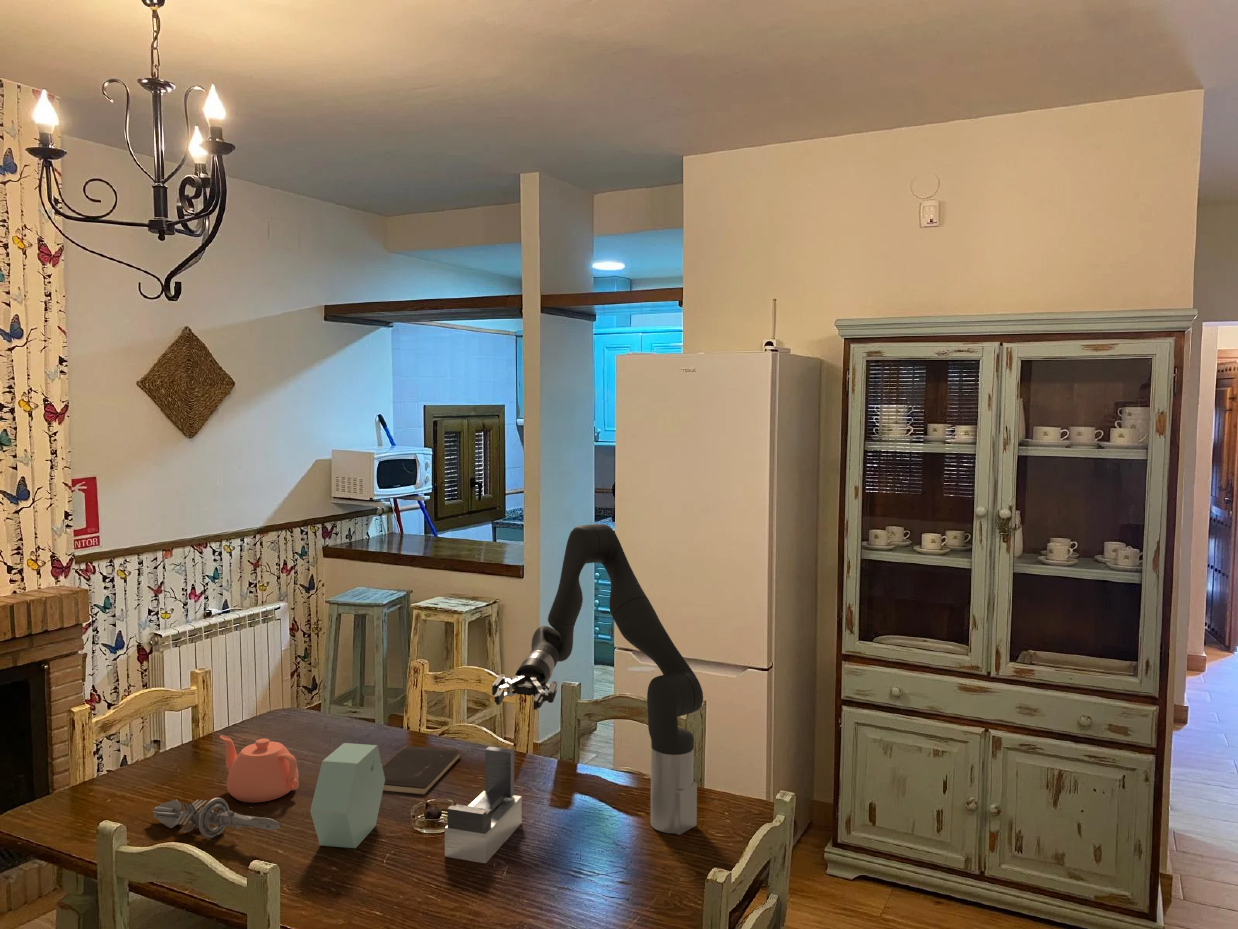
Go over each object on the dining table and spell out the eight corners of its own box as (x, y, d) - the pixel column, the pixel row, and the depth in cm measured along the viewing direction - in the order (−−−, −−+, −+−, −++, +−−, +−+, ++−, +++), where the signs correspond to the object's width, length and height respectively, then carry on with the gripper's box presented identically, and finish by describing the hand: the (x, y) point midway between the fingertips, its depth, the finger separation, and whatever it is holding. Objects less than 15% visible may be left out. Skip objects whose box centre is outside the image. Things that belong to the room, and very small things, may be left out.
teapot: (197, 798, 205) (195, 745, 205) (246, 772, 220) (244, 722, 219) (275, 813, 198) (274, 758, 197) (320, 785, 213) (319, 734, 212)
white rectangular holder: (483, 817, 197) (483, 773, 196) (521, 823, 194) (521, 778, 194) (444, 856, 180) (444, 808, 179) (485, 863, 177) (485, 814, 177)
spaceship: (260, 825, 176) (285, 795, 183) (132, 812, 189) (160, 784, 196) (275, 854, 179) (299, 824, 186) (148, 839, 192) (175, 811, 199)
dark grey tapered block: (488, 791, 196) (488, 746, 195) (514, 794, 194) (514, 749, 193) (466, 812, 185) (466, 765, 184) (492, 816, 183) (492, 769, 183)
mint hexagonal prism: (336, 850, 191) (357, 751, 201) (370, 853, 190) (390, 753, 200) (302, 840, 176) (327, 733, 186) (339, 843, 175) (363, 736, 185)
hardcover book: (461, 759, 231) (461, 750, 230) (425, 797, 208) (425, 787, 208) (403, 754, 234) (403, 745, 234) (361, 791, 211) (361, 781, 211)
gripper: (506, 653, 212) (485, 684, 197) (565, 660, 210) (548, 692, 194) (506, 682, 214) (484, 715, 198) (564, 689, 212) (547, 723, 196)
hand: (516, 703), depth 196 cm, fingers open, 8 cm apart
